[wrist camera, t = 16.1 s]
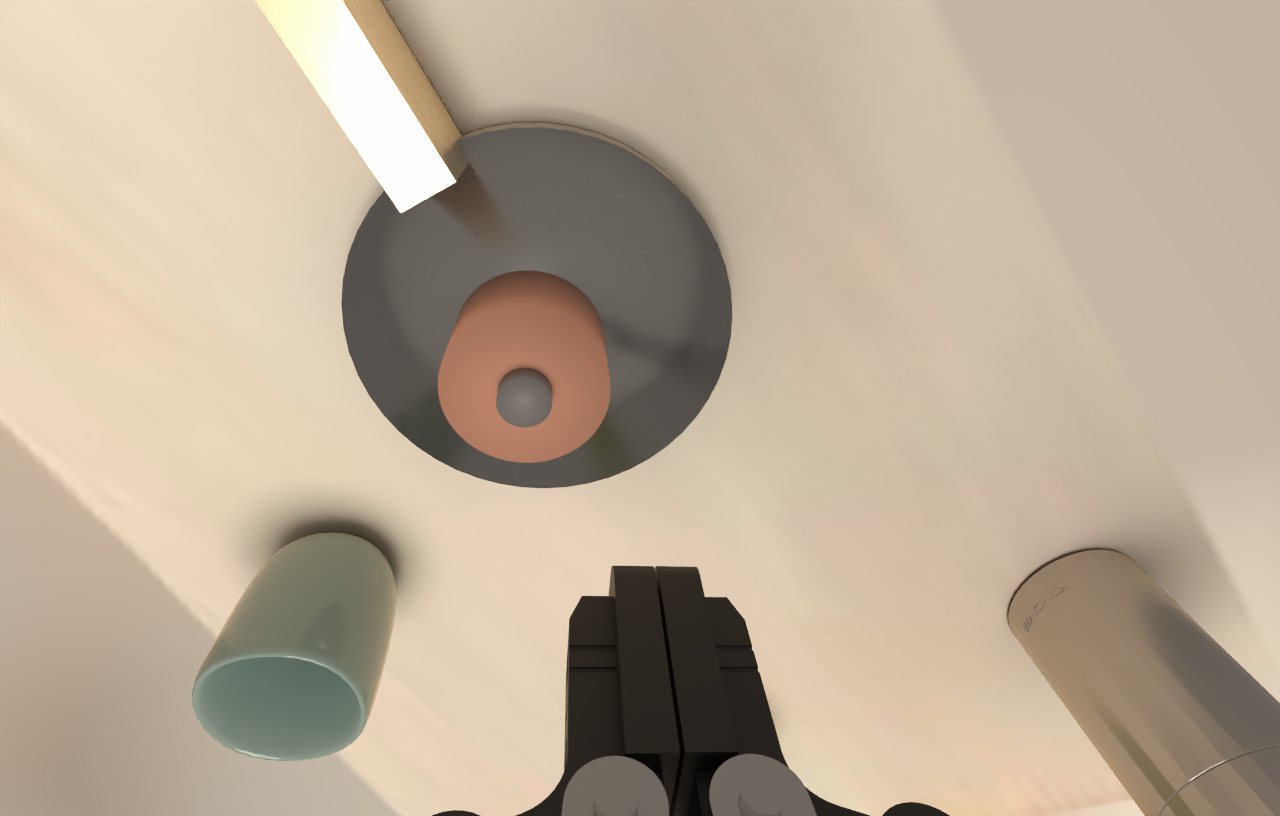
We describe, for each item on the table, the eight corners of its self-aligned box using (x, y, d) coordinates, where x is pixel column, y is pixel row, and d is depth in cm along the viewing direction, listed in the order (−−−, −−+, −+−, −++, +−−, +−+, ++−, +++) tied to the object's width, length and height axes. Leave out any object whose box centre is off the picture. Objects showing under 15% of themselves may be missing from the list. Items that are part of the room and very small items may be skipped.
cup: (254, 515, 39) (164, 659, 30) (397, 506, 39) (349, 646, 30) (289, 615, 42) (218, 769, 34) (419, 606, 43) (382, 755, 34)
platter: (534, -157, 25) (526, -198, 20) (777, 381, 37) (808, 436, 32) (142, 92, 28) (53, 108, 23) (487, 518, 40) (477, 587, 35)
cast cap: (557, 242, 30) (555, 289, 25) (630, 366, 34) (641, 430, 29) (423, 315, 32) (396, 374, 26) (507, 428, 35) (497, 500, 30)
